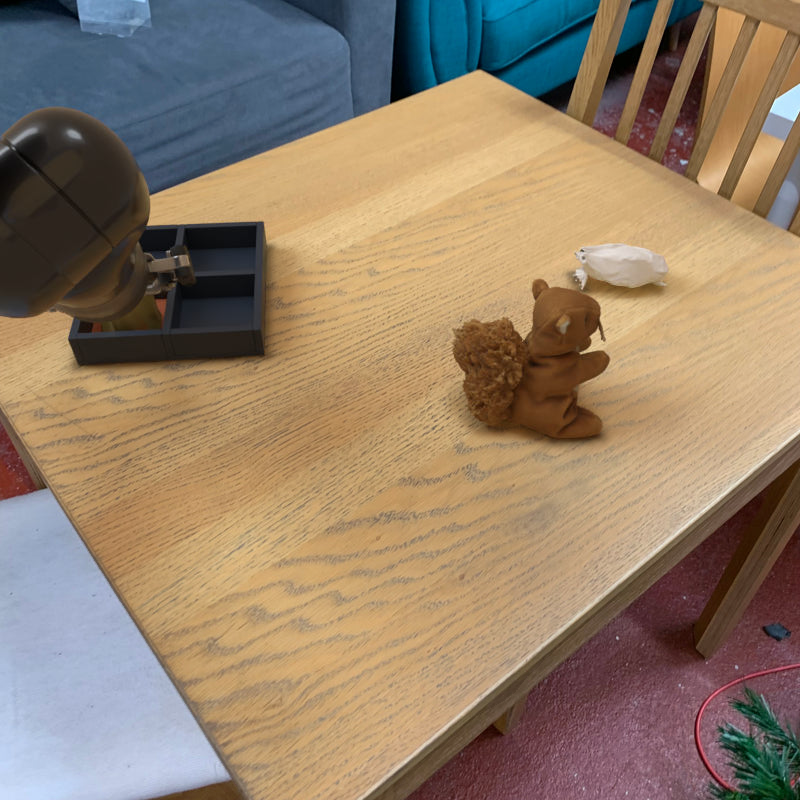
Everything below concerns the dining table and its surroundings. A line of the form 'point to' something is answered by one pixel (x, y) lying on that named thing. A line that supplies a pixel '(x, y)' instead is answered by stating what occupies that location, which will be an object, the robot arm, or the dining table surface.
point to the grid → (194, 300)
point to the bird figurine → (621, 265)
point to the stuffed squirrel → (534, 365)
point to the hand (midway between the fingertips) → (114, 291)
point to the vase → (137, 318)
